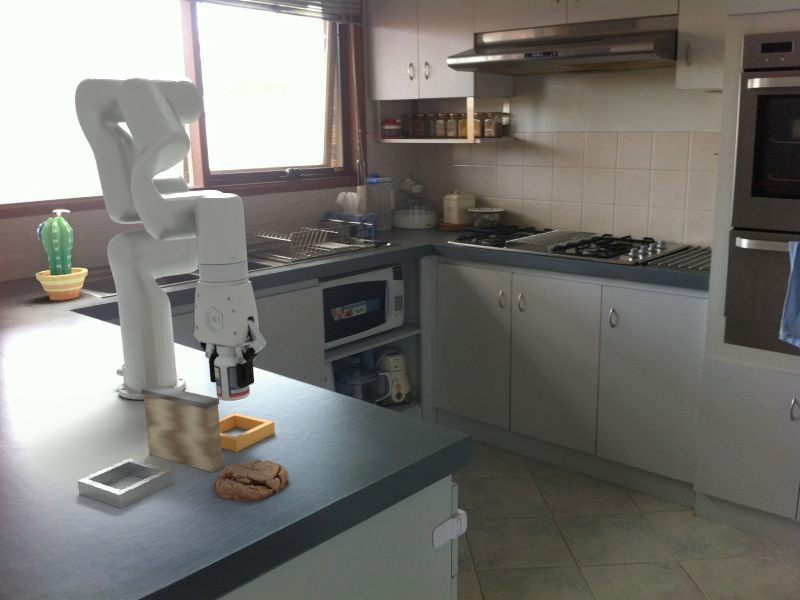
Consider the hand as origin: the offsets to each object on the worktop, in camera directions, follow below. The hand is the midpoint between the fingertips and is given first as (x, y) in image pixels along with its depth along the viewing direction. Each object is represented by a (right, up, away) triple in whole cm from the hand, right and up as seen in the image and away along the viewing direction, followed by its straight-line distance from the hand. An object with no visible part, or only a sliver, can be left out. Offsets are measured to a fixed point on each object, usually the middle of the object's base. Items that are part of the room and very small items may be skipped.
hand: (232, 381), depth 129 cm
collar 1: (-12, -14, -16) cm, 24 cm away
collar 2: (0, -9, +2) cm, 10 cm away
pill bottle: (0, -3, +1) cm, 3 cm away
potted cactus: (-78, +14, +121) cm, 145 cm away
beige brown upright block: (-6, -11, -7) cm, 15 cm away
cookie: (+6, -14, -16) cm, 22 cm away
